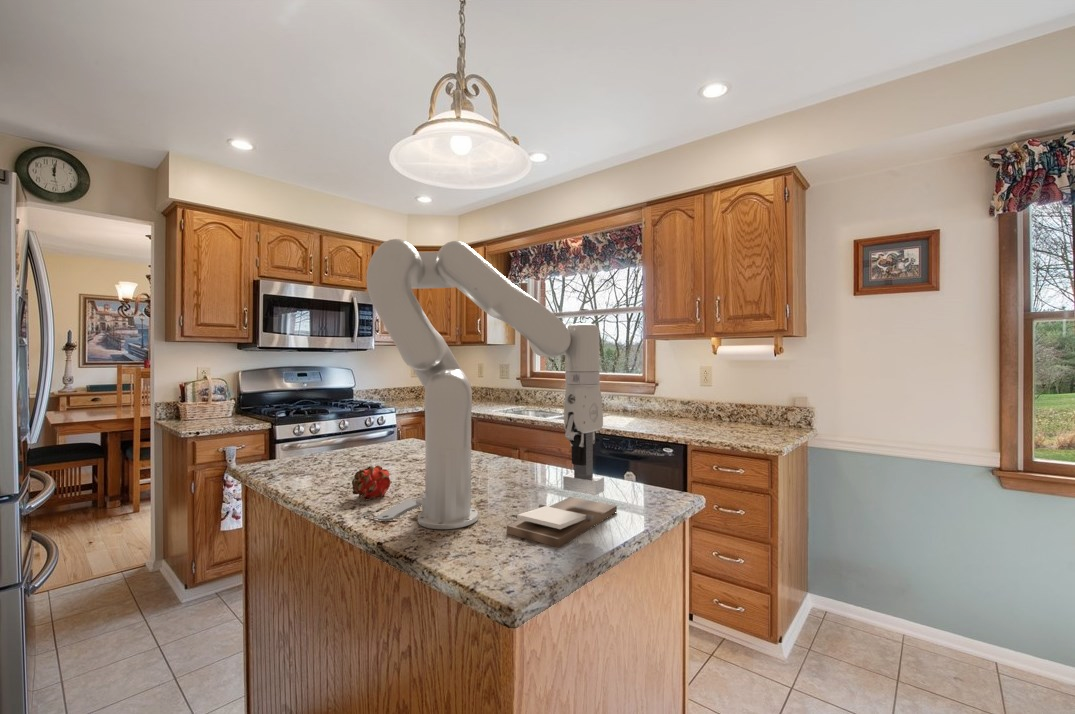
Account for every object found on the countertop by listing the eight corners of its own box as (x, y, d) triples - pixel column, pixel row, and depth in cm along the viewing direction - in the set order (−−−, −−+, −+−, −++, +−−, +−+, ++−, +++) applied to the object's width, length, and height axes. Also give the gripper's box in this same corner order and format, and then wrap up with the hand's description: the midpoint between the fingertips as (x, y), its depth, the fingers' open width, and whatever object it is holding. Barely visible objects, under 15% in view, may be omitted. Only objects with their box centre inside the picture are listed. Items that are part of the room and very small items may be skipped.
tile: (545, 506, 102) (545, 510, 102) (517, 514, 94) (517, 519, 94) (586, 514, 97) (586, 519, 97) (560, 524, 88) (560, 530, 88)
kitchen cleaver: (429, 487, 124) (459, 490, 119) (429, 491, 124) (460, 494, 119) (352, 515, 103) (385, 520, 98) (352, 520, 103) (385, 525, 98)
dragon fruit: (351, 512, 111) (383, 504, 122) (378, 492, 109) (408, 487, 121) (336, 479, 113) (369, 475, 125) (363, 460, 112) (393, 458, 123)
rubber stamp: (595, 495, 101) (595, 429, 101) (563, 489, 106) (563, 426, 106) (604, 491, 105) (603, 427, 105) (572, 485, 109) (572, 424, 109)
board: (505, 533, 93) (505, 519, 93) (568, 502, 113) (568, 491, 113) (560, 547, 86) (560, 532, 86) (618, 513, 106) (618, 500, 106)
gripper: (578, 381, 96) (579, 472, 96) (614, 378, 110) (614, 458, 110) (547, 381, 101) (548, 468, 101) (585, 378, 114) (586, 455, 114)
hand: (583, 462), depth 105 cm, fingers closed on rubber stamp, 3 cm apart
